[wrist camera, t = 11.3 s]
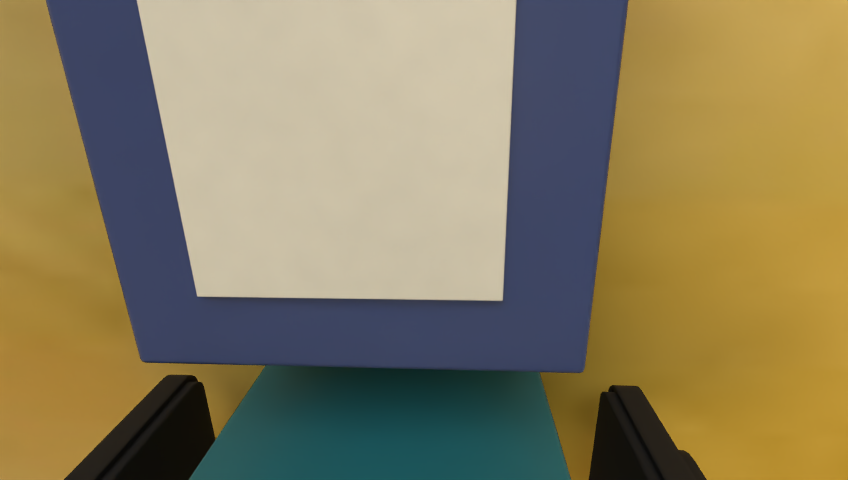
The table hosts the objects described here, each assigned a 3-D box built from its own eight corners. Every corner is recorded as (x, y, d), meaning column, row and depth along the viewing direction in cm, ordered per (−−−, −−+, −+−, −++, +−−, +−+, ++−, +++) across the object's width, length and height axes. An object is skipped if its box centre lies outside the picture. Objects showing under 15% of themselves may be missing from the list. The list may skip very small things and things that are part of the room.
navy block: (259, -29, 9) (-24, -194, 4) (535, -40, 8) (667, -240, 3) (290, 230, 11) (132, 370, 5) (520, 231, 10) (588, 381, 5)
